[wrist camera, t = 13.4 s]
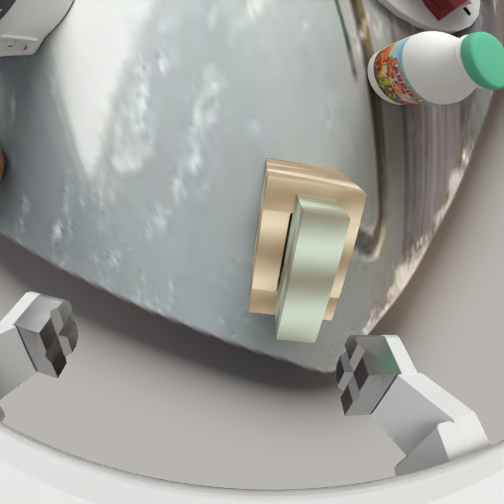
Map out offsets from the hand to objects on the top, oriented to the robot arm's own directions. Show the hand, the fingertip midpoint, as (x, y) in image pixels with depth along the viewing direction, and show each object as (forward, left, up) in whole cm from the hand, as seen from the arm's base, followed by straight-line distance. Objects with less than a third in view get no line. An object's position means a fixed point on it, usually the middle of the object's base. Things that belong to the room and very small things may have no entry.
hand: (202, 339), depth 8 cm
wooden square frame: (+6, -6, -32) cm, 33 cm away
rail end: (+6, -6, -24) cm, 25 cm away
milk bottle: (+16, +15, -32) cm, 39 cm away
